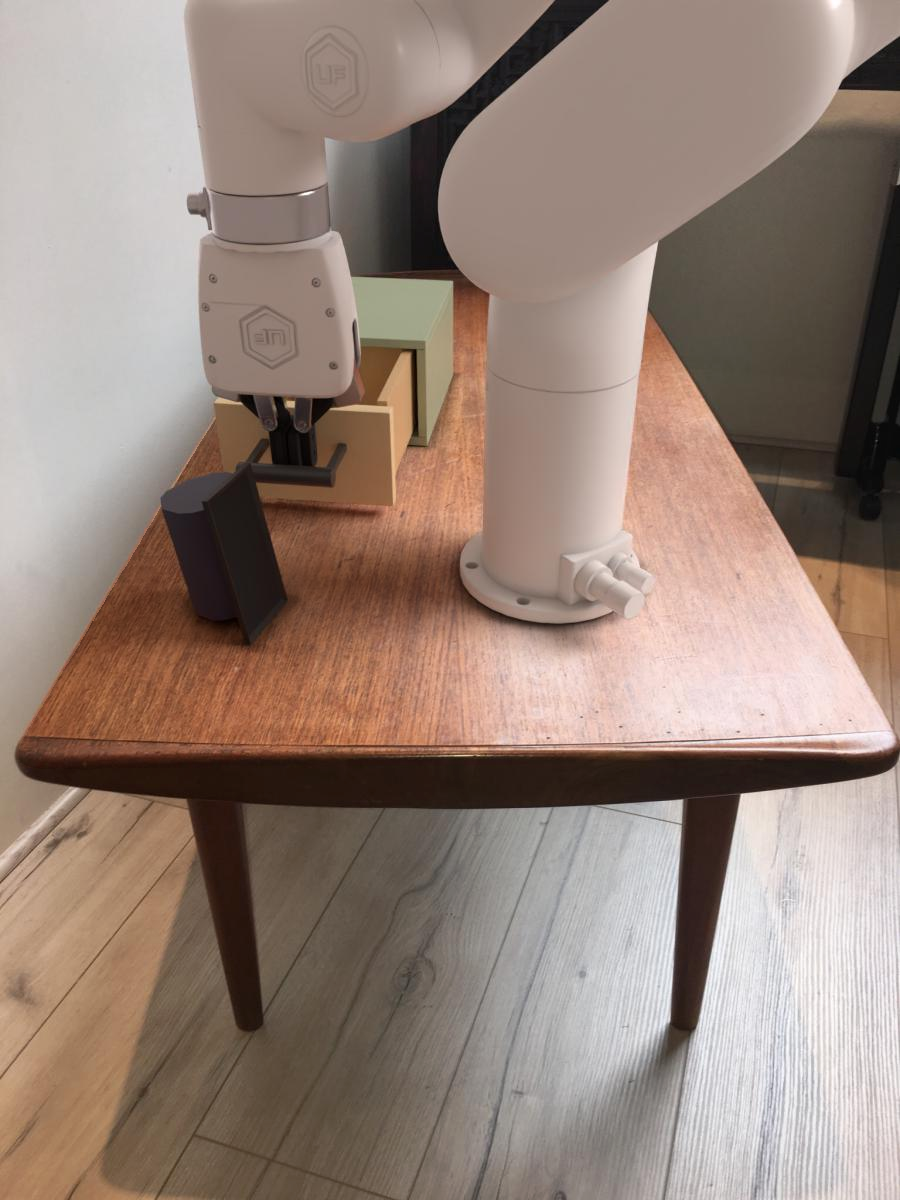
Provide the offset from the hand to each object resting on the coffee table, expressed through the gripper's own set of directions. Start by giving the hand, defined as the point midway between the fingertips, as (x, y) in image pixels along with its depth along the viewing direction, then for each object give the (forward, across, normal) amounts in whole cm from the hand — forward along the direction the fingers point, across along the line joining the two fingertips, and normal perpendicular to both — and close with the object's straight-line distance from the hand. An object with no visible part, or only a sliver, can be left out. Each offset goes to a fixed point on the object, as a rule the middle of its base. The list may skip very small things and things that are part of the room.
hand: (296, 473), depth 73 cm
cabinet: (+5, 0, +24) cm, 24 cm away
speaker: (+5, -2, -11) cm, 12 cm away
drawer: (+4, 0, +8) cm, 9 cm away
